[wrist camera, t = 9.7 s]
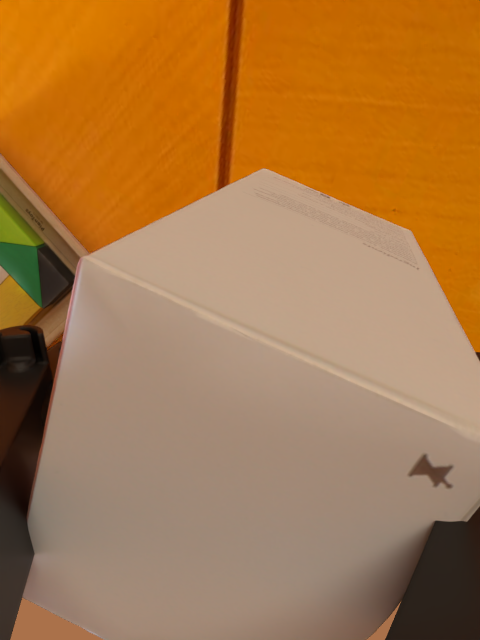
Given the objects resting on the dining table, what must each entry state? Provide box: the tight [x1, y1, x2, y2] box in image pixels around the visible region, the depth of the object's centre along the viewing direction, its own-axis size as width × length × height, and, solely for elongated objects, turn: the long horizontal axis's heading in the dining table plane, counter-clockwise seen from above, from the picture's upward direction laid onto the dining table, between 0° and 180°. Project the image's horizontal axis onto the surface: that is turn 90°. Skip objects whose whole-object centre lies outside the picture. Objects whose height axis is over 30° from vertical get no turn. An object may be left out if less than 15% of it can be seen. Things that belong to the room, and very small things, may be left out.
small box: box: [22, 168, 480, 640], centre depth 13 cm, size 8×6×13 cm
